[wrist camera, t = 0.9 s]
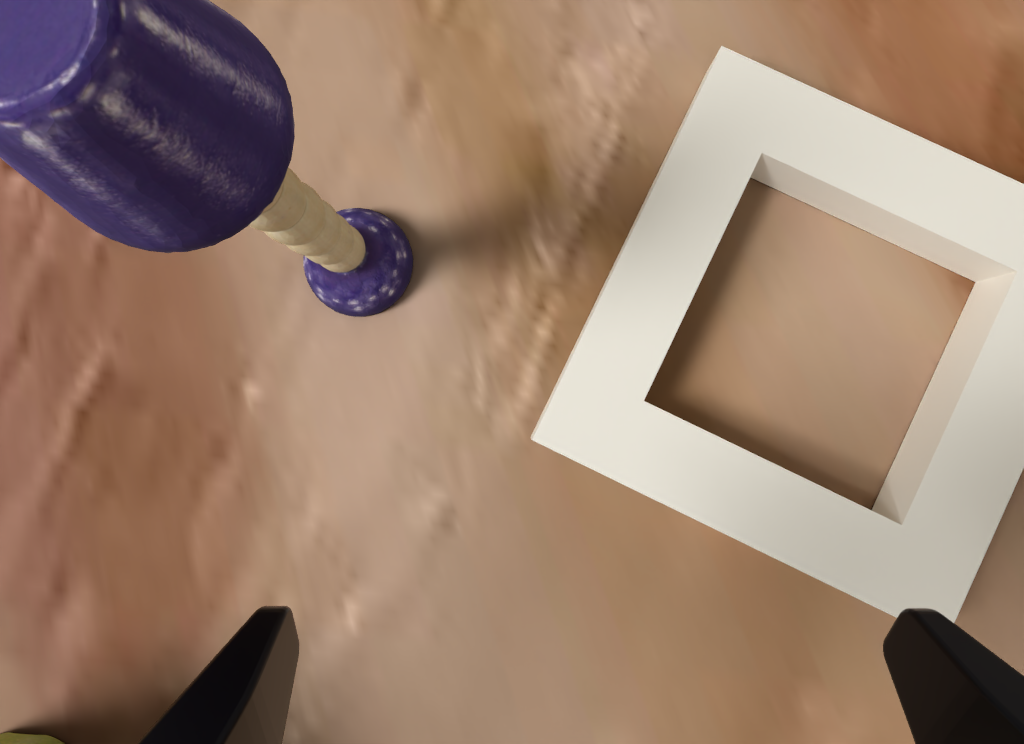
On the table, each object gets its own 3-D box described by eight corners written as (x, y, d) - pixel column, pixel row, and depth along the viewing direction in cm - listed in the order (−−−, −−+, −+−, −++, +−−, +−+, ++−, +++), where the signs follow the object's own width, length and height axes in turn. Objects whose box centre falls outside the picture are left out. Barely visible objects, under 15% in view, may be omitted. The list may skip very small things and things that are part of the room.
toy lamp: (427, 316, 24) (217, 124, 7) (312, 344, 24) (-155, 215, 7) (399, 199, 24) (136, -240, 8) (286, 227, 24) (-225, -151, 8)
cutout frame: (909, 620, 23) (945, 641, 21) (530, 436, 24) (531, 439, 22) (1078, 246, 24) (1129, 232, 22) (704, 75, 24) (721, 45, 22)
